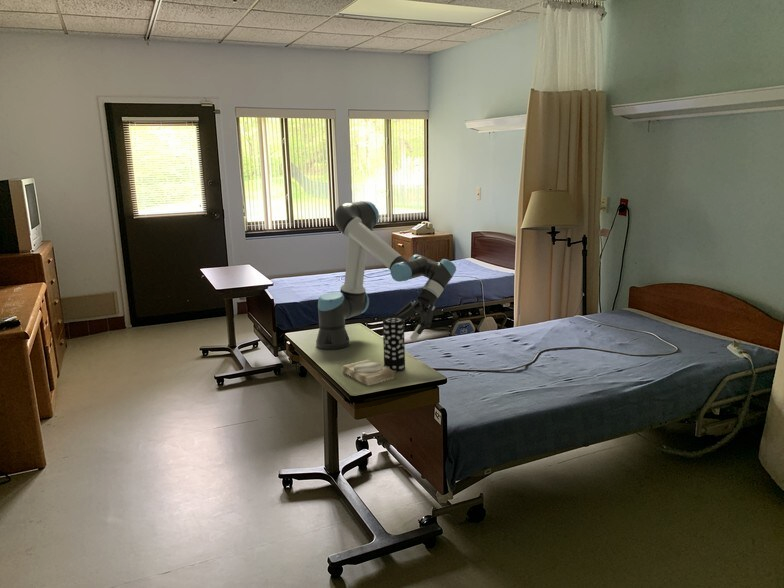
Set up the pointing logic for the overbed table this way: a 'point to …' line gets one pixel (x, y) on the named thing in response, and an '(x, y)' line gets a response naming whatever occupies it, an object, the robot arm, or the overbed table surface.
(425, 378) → the overbed table surface
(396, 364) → the spotted tube
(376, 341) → the overbed table surface
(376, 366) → the plinth
